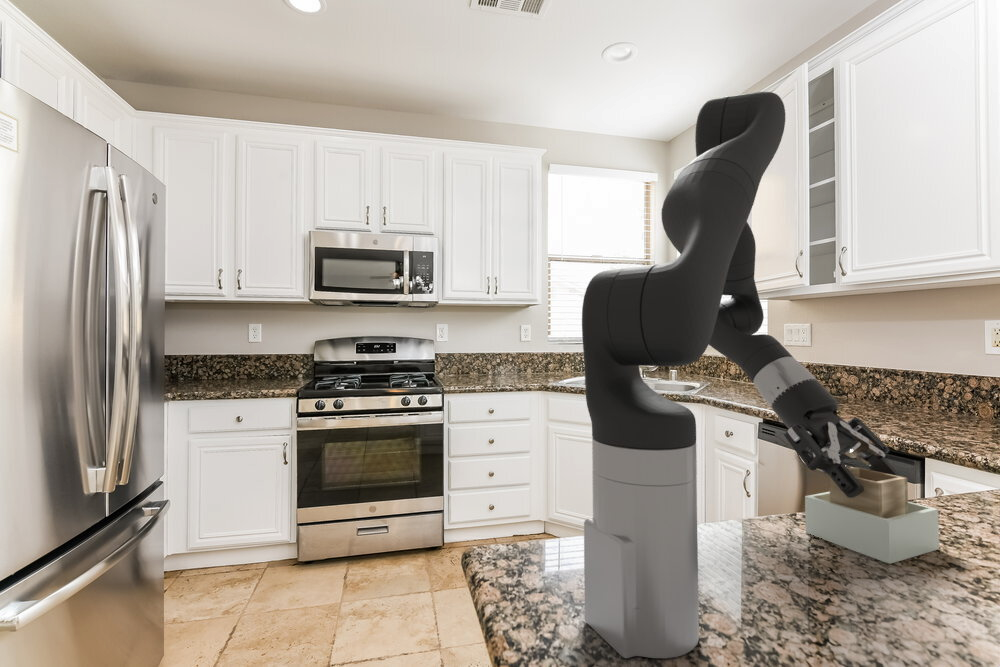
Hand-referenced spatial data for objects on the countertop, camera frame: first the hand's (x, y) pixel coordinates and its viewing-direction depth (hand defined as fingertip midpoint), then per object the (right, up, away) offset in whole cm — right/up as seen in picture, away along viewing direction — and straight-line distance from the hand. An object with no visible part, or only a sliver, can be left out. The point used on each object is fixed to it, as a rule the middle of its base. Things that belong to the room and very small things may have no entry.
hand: (878, 490), depth 63 cm
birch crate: (-1, -6, +1) cm, 6 cm away
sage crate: (0, -7, +1) cm, 7 cm away
